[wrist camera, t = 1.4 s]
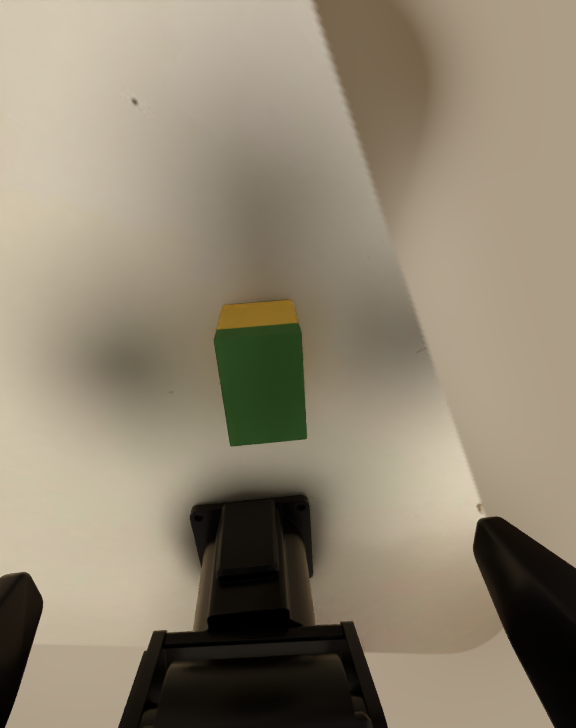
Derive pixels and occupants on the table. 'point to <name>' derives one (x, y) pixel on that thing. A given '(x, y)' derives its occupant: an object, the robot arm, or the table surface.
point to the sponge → (261, 372)
